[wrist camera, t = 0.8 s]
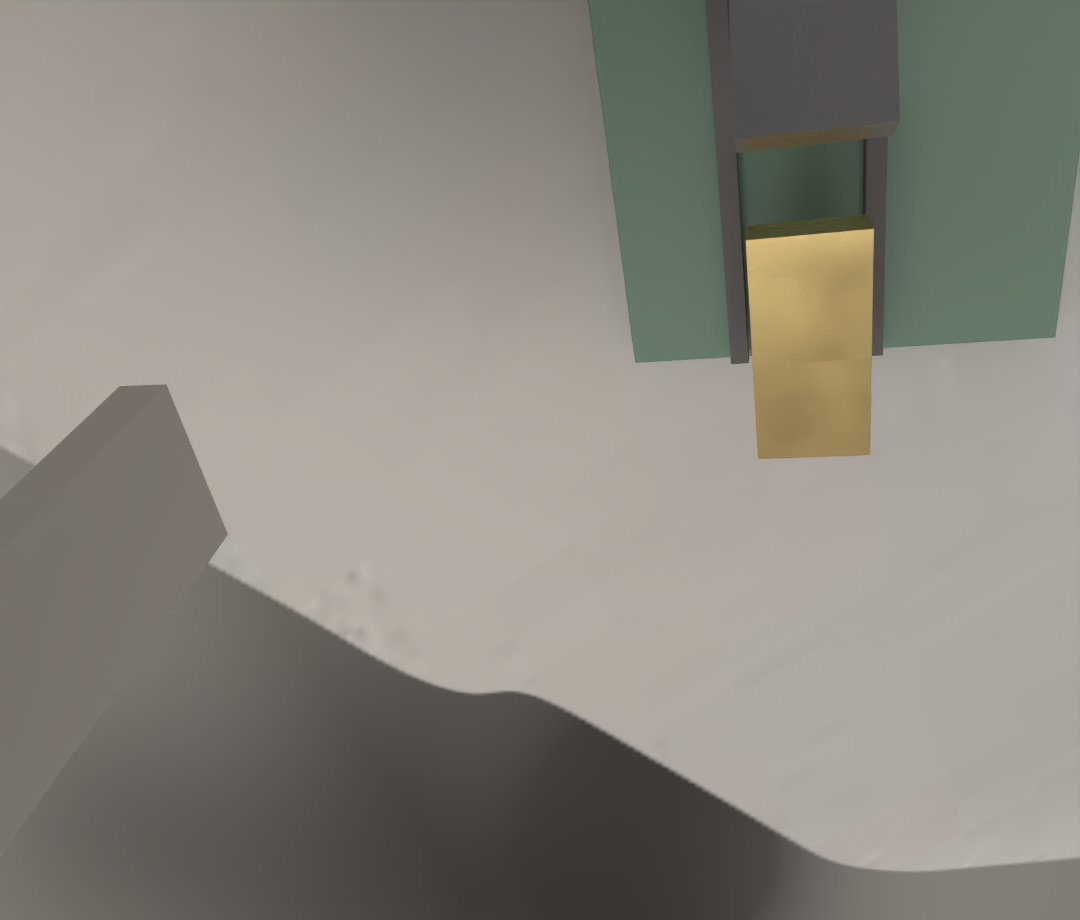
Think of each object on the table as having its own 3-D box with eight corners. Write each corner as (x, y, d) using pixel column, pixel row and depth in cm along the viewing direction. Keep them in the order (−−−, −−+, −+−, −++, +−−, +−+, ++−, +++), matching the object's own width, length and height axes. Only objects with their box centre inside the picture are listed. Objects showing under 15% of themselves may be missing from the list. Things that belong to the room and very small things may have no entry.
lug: (749, 146, 30) (745, 240, 24) (850, 134, 29) (873, 228, 23) (759, 333, 34) (758, 458, 27) (850, 327, 33) (869, 454, 27)
